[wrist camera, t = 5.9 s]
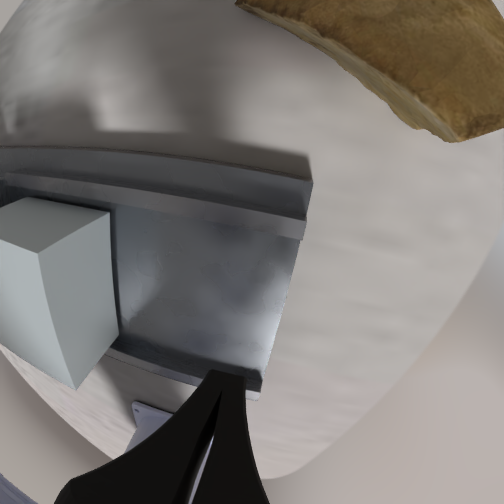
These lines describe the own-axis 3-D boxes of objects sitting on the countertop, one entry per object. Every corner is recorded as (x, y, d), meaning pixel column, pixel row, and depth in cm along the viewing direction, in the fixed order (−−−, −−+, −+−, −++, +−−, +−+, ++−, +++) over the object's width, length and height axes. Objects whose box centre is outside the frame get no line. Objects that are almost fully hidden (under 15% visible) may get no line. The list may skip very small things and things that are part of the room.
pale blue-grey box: (122, 356, 18) (84, 410, 13) (33, 315, 18) (-6, 352, 14) (109, 212, 13) (37, 253, 9) (11, 193, 14) (-47, 219, 9)
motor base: (258, 390, 18) (242, 465, 13) (4, 294, 20) (-36, 326, 15) (312, 179, 13) (322, 216, 7) (-17, 147, 15) (-73, 164, 9)
